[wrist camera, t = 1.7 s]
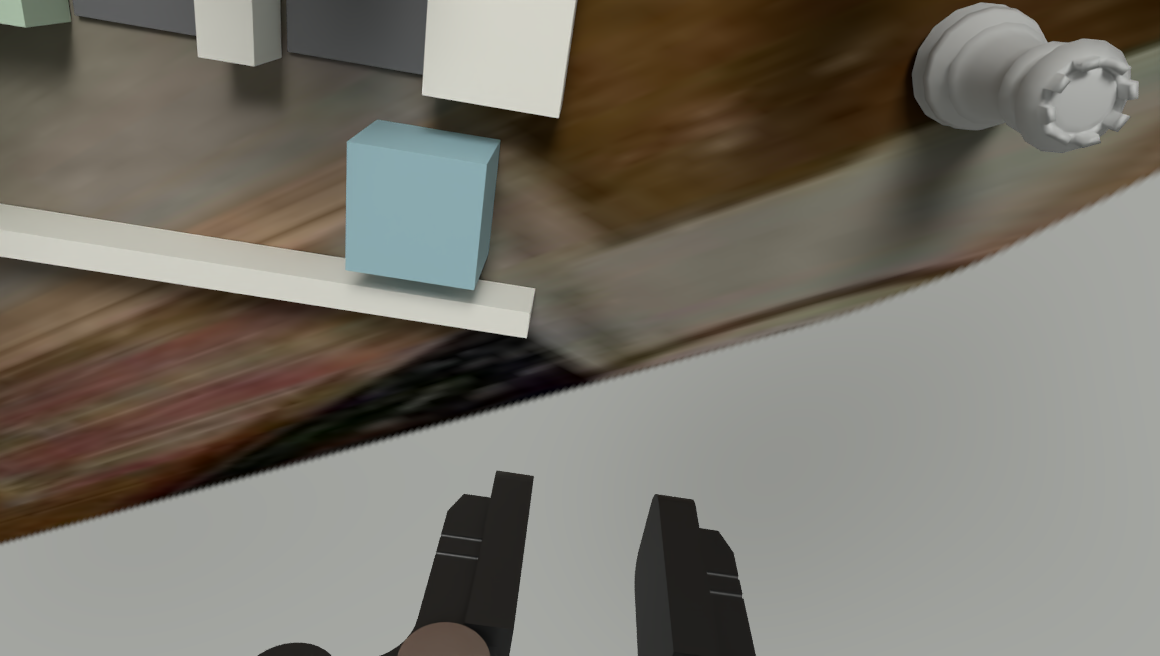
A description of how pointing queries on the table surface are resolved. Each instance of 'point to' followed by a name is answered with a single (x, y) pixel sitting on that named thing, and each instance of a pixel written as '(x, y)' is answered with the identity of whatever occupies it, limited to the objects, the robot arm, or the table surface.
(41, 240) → the trap lane
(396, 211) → the push block
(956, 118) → the rook chess piece
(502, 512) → the robot arm
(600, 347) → the table surface
